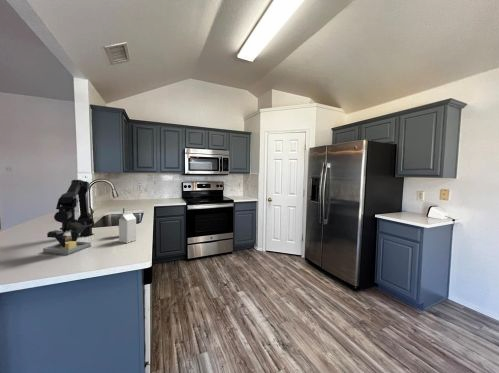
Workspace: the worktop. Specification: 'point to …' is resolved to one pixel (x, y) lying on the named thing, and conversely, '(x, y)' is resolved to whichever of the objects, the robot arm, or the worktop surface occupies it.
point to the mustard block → (69, 245)
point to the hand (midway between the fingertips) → (69, 245)
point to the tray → (58, 250)
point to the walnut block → (68, 239)
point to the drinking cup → (120, 216)
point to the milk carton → (127, 228)
